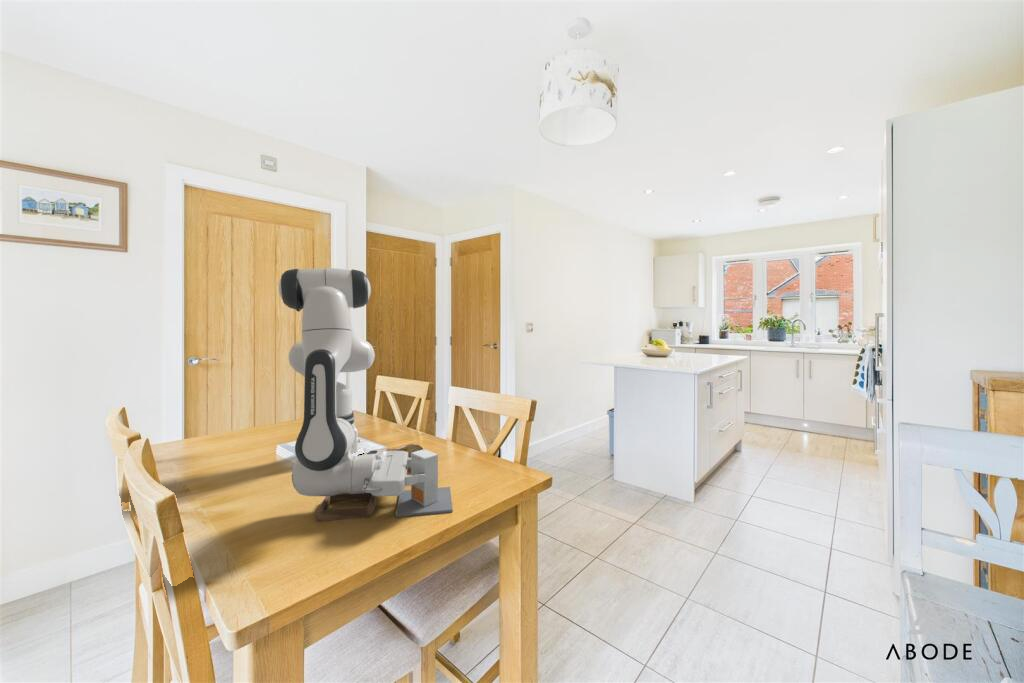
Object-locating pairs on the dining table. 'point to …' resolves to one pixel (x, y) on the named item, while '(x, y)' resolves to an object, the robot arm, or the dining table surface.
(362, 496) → the walnut collar
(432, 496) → the skincare box
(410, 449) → the tin
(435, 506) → the slate mat
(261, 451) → the dining table surface
